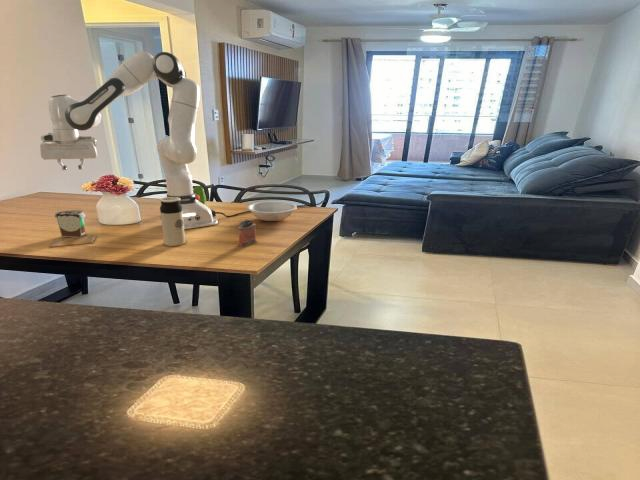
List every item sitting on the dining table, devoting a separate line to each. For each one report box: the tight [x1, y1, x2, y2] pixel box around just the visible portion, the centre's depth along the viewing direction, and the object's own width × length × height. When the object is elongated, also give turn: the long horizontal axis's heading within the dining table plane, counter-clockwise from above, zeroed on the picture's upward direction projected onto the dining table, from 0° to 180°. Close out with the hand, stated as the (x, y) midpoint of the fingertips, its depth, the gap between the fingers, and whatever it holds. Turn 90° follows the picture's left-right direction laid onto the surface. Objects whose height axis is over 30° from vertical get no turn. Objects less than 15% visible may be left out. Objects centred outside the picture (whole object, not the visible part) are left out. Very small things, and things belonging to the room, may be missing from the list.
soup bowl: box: [246, 200, 298, 222], centre depth 186 cm, size 24×24×7 cm
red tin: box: [237, 218, 257, 247], centre depth 151 cm, size 8×3×10 cm, turn 141°
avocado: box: [193, 185, 207, 205], centre depth 205 cm, size 8×8×12 cm
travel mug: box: [159, 196, 186, 247], centre depth 149 cm, size 8×8×18 cm
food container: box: [54, 209, 87, 238], centre depth 157 cm, size 12×6×10 cm, turn 79°
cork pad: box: [49, 235, 96, 248], centre depth 151 cm, size 14×9×1 cm, turn 112°
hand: (73, 169), depth 163 cm, fingers open, 5 cm apart
